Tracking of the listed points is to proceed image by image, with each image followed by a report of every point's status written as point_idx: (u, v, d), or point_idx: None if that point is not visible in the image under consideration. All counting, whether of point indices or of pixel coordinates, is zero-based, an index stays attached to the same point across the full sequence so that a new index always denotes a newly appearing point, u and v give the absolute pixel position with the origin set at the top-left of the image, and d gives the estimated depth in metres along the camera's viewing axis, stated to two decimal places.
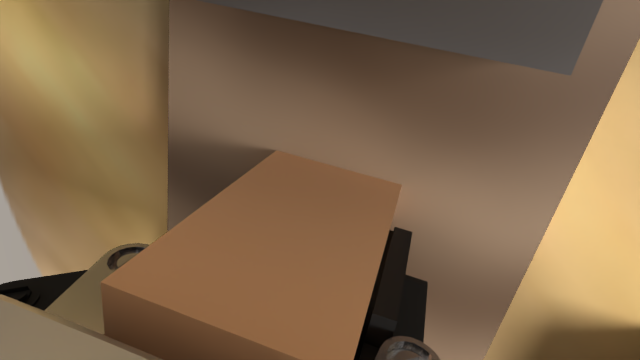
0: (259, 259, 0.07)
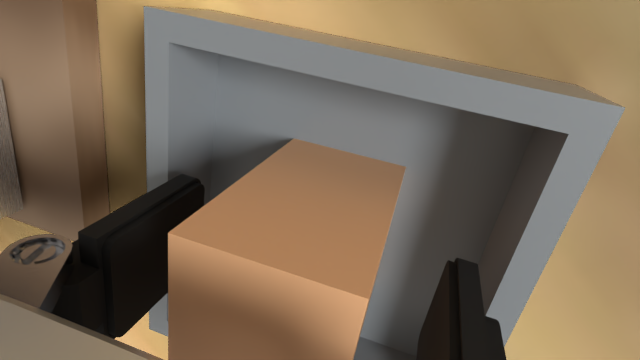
0: (290, 219, 0.09)
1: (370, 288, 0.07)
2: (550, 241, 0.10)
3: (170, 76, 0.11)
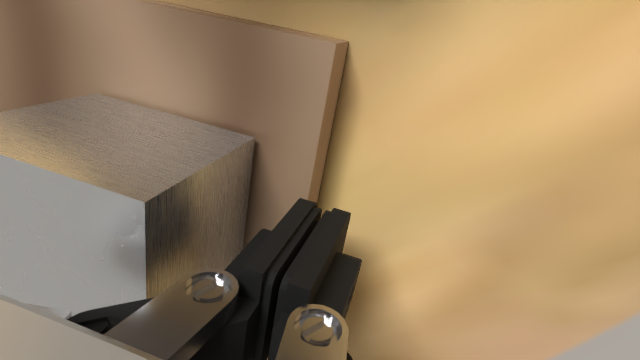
0: None
1: None
2: None
3: None
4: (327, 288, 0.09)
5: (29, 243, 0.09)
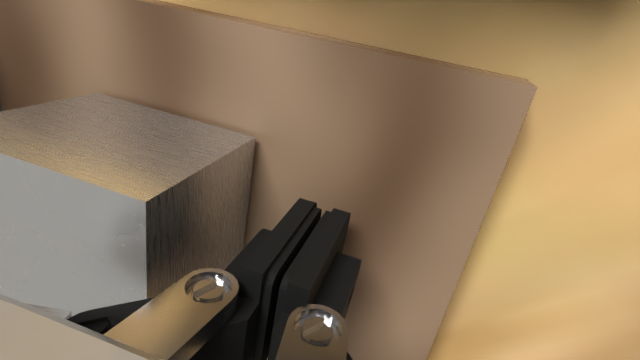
0: None
1: None
2: None
3: None
4: (327, 288, 0.09)
5: (29, 242, 0.09)
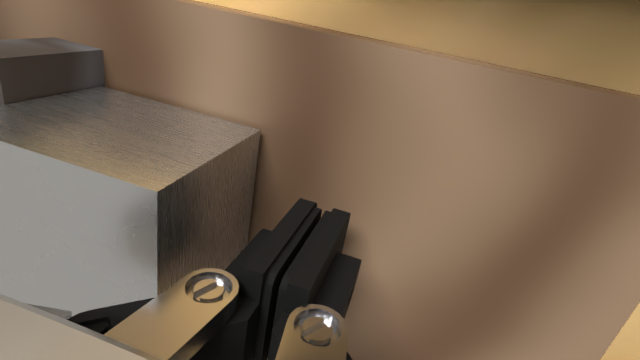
0: None
1: None
2: None
3: None
4: (327, 288, 0.09)
5: (40, 233, 0.09)
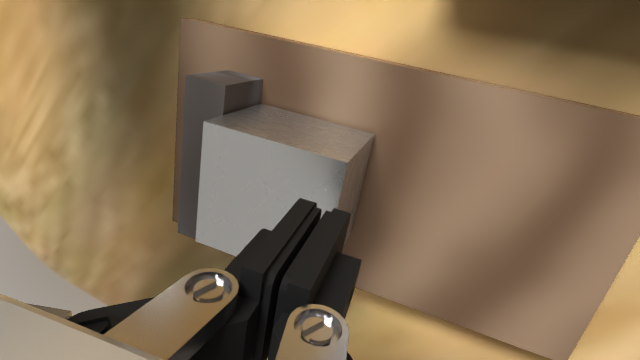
0: None
1: None
2: None
3: None
4: (327, 288, 0.09)
5: (258, 190, 0.16)
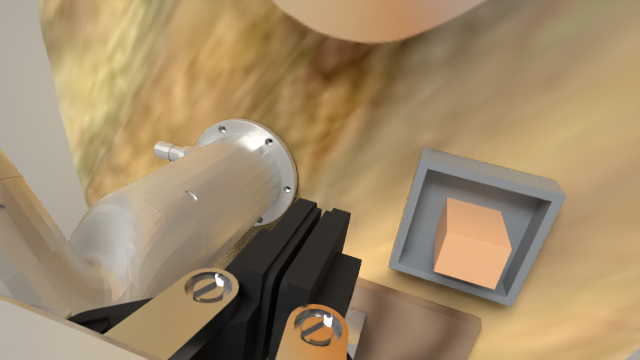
0: (440, 242, 0.34)
1: (447, 229, 0.32)
2: (460, 170, 0.34)
3: (407, 265, 0.39)
4: (327, 288, 0.09)
5: None
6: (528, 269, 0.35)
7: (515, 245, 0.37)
